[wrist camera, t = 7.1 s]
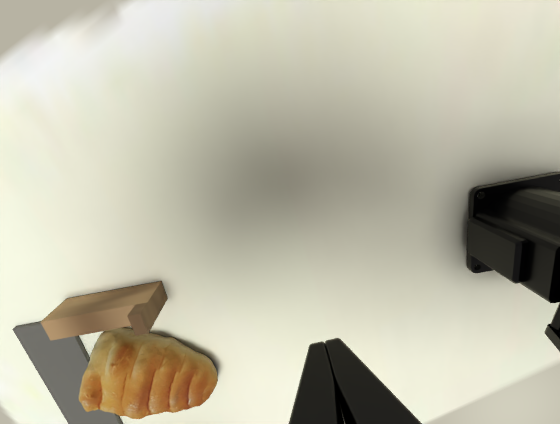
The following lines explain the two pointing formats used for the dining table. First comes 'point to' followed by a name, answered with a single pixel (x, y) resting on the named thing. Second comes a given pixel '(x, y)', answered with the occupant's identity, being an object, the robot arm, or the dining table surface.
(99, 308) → the wooden blocks
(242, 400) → the dining table surface
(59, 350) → the mat
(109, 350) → the pastry
